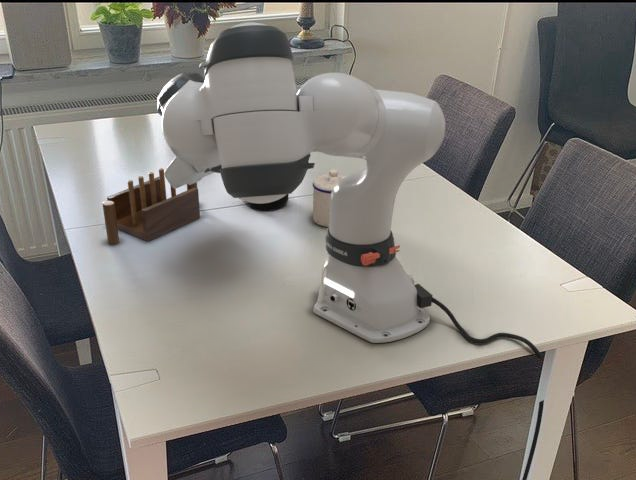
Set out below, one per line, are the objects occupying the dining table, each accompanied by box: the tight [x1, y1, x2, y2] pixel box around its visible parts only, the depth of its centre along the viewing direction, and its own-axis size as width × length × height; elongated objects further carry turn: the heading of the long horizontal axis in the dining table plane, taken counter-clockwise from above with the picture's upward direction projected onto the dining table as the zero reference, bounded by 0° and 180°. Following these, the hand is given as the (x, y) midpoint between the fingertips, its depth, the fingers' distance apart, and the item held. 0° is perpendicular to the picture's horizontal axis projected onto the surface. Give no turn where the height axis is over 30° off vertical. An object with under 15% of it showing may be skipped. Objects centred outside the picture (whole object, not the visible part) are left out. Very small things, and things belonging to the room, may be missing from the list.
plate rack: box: [106, 167, 201, 242], centre depth 168 cm, size 12×16×12 cm
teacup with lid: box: [312, 169, 346, 228], centre depth 171 cm, size 12×9×12 cm
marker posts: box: [101, 182, 198, 246], centre depth 168 cm, size 2×27×9 cm, turn 143°
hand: (191, 180), depth 157 cm, fingers closed
